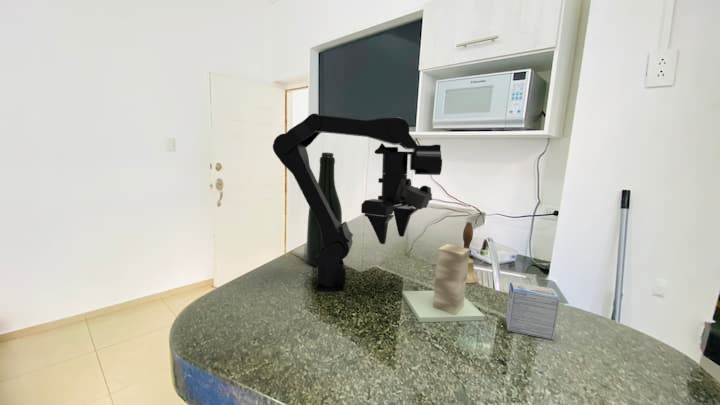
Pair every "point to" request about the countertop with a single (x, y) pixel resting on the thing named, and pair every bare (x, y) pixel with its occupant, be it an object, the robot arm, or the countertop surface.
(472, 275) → the hand bell
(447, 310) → the birch block
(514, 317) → the medicine box
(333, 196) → the beer bottle
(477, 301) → the countertop surface
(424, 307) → the sage board
